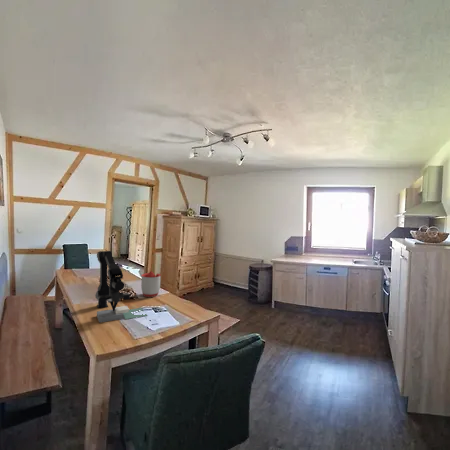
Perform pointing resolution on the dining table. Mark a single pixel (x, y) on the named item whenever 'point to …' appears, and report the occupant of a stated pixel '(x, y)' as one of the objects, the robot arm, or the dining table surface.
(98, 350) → the dining table surface
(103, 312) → the plate
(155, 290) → the citrus juicer
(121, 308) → the tile
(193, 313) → the dining table surface
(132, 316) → the mat
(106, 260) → the robot arm
